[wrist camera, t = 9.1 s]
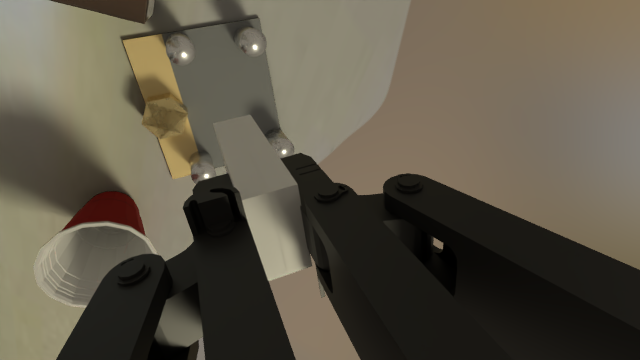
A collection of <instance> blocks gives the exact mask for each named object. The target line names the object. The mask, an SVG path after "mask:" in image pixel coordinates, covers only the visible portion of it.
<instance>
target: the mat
mask: <svg viewBox="0 0 640 360" xmlns="http://www.w3.org/2000/svg"><path fill="white" fill-rule="evenodd" d="M243 26H248V27H251V28H254V29H256V30H259V31H260V32H262V30H261V24H260V19H259V18H255V19H249V20H243V21H236V22H230V23H224V24H218V25H212V26H206V27H200V28H194V29H188V30H182V31H176V32H170V33H164V34H158V35H152V36H145V37H139V38H133V39H127V40H123V43H124V46H125V49H126V51H127V54H128V57H129V60H130V62H131V65H132V68H133V71H134V73H135V76H136V79H137V82H138V84H139V87H140V90H141V93H142V95H143V98H144V101H145V104H146V103H147V99H148V97H151V96H156V95H161V94H166V93H172V94H173V95H174V96H175V97H176V98H177V99H178V100H179V101H180V102H181V103H182V104H183V105H184V106H186V107H187V109H188V116H187V120H186V124H185V127H184V131H183V134H181V135H177V136H172V137H168V138H164V139H159V138H158V139H159V142H160V145H161V148H162V150H163V153H164V156H165V159H166V161H167V164H168V167H169V170H170V172H171V175H172V178H173V179H176V178H180V177H183V176H187V175H191V169H190V157H191V155H192V154H193V153H195V152H197V151H205V152H208V153H209V154H210V155H211V157H212V160H213V164H214V168H218V167H222V166H225V164H224V161H223V157H222V153H221V150H220V146H219V143H218V139H217V136H216V132H215V128H214V125H213V123H216V122H221V121H225V120H229V119H234V118H238V117H242V116H247V115H251V116H252V118H253V119H254V121H255V122H256V124H257V125H258V127H259V128H260V130H261V131H262V133H263V134H264V136H265V135H266V133H267V132H268V131H269V130H271V129H279V130H280V125H279V120H278V115H277V109H276V104H275V99H274V93H273V88H272V83H271V77H270V72H269V67H268V61H267V56H266V51H264V52H263V53H262V54H261V55H259V56H256V57H252V56H249V55H247V54H246V53H244V52H243V51H242V50H240V49H239V48H238V47H237V46H236V44H235V41H234V36H235V33H236V31H237V30H238V29H239V28H240V27H243ZM173 33H183V34H185V35H187V36H188V37H189V38H190V40H191V41H192V43H193V46H194V48H195V57H194V59H193V60H192V61H191V62H190V63H189V64H187V65H177V64H175V63H173V62H172V61H171V60H170V59H169V58H168V56H167V54H166V42H167V39H168V37H169V36H170V35H171V34H173Z"/></svg>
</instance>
